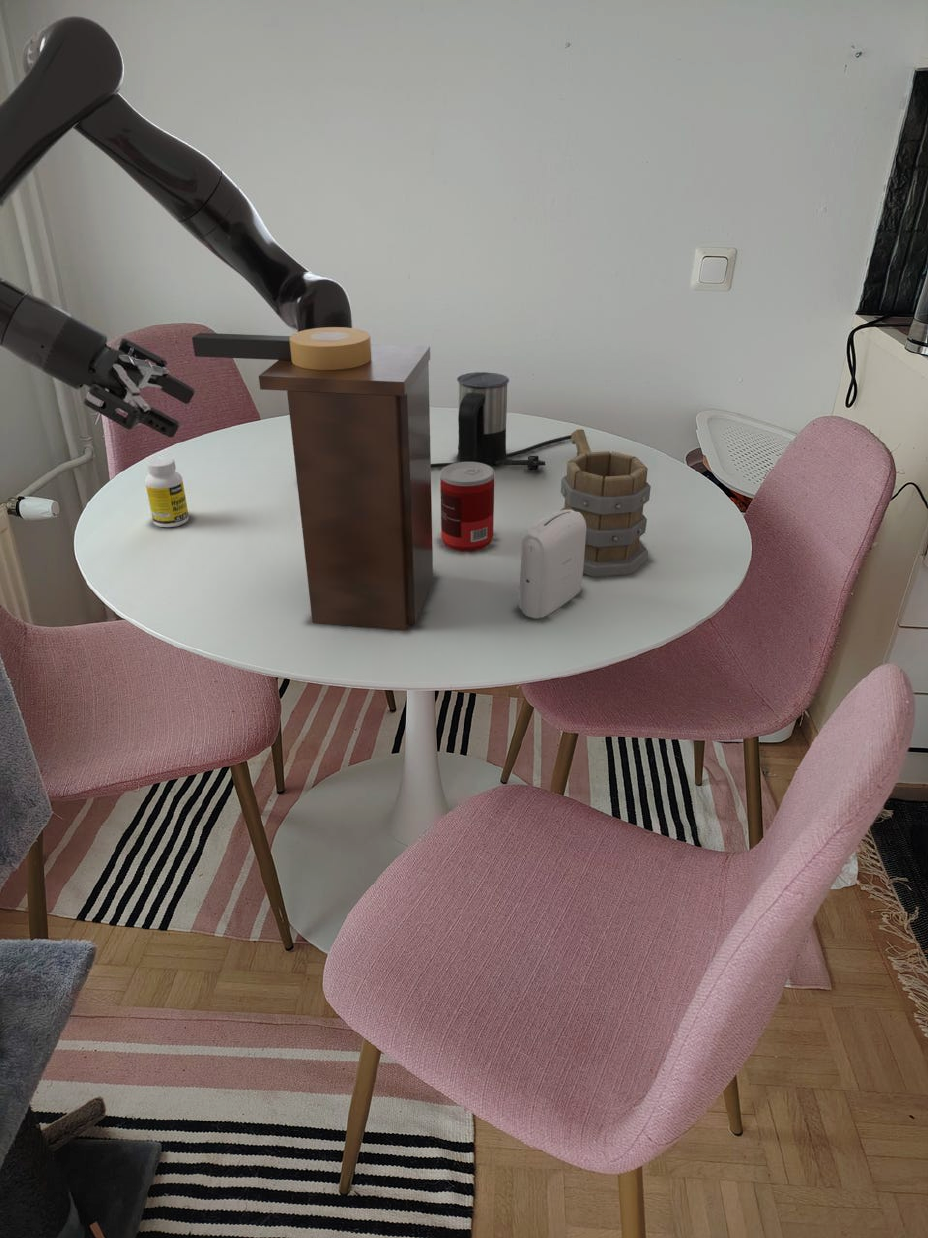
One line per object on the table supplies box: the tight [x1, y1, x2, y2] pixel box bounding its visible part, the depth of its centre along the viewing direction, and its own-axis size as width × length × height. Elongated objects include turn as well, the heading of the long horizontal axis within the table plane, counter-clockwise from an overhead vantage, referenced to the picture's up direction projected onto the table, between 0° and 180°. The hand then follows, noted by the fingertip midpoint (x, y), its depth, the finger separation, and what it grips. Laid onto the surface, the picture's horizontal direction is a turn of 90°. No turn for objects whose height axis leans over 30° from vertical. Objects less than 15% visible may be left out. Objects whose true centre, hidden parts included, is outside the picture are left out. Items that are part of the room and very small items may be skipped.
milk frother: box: [456, 371, 547, 471], centre depth 149 cm, size 14×16×15 cm
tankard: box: [559, 428, 652, 578], centre depth 122 cm, size 20×13×15 cm, turn 9°
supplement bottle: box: [144, 456, 190, 528], centre depth 131 cm, size 5×5×10 cm
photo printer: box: [518, 510, 586, 620], centre depth 109 cm, size 10×4×12 cm, turn 140°
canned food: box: [439, 461, 495, 553], centre depth 124 cm, size 8×8×11 cm
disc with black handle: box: [191, 327, 372, 370], centre depth 97 cm, size 20×9×3 cm, turn 81°
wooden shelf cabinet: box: [258, 343, 434, 631], centre depth 105 cm, size 16×15×31 cm
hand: (184, 413), depth 107 cm, fingers open, 8 cm apart
